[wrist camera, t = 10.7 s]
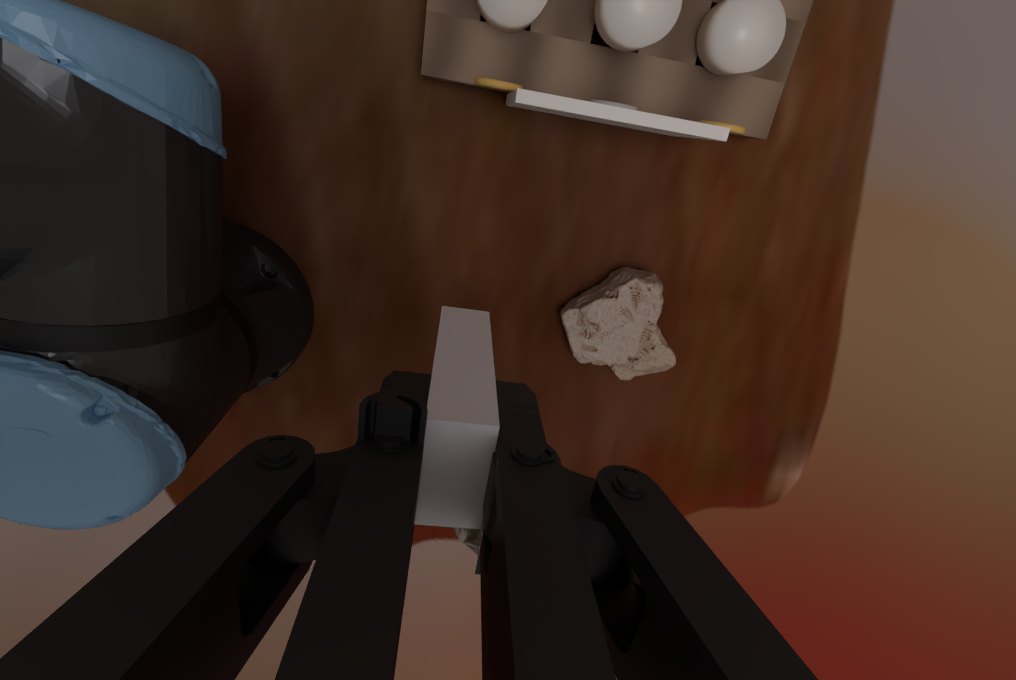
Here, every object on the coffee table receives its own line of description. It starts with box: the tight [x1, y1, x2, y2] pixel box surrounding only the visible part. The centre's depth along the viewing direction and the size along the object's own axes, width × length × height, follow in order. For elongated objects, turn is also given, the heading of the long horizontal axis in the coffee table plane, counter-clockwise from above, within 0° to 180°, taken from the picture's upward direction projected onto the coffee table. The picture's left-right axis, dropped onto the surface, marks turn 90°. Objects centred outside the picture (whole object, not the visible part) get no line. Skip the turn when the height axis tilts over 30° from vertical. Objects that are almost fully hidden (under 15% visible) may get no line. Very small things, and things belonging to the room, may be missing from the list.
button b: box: [594, 0, 682, 52], centre depth 34 cm, size 5×5×6 cm
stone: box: [561, 267, 676, 380], centre depth 47 cm, size 9×11×5 cm
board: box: [421, 0, 814, 139], centre depth 37 cm, size 27×12×3 cm, turn 81°
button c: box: [696, 0, 786, 76], centre depth 36 cm, size 5×5×6 cm
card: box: [475, 77, 746, 141], centre depth 37 cm, size 19×1×10 cm, turn 81°
